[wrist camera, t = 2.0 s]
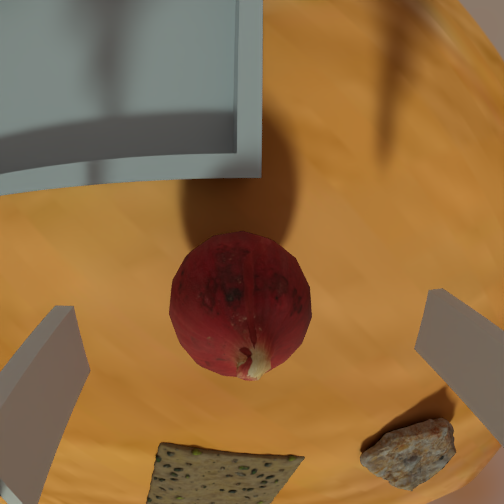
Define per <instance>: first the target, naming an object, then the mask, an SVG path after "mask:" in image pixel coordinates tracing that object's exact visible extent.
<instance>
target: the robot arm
mask: <svg viewBox="0 0 504 504" xmlns="http://www.w3.org/2000/svg"><path fill="white" fill-rule="evenodd" d="M414 349H415V350H416V351H417V352H418V353H419V354H420V355H421V356H422V358H423V359H424V360H425V361H426V362H427V363H428V364H429V365H430V366H431V367H432V368H433V369H434V370H435V371H436V372H437V373H438V374H439V376H440V377H441V378H442V379H443V380H444V381H445V382H446V383H447V384H448V385H449V386H450V387H451V389H452V390H453V391H454V392H455V393H456V394H457V395H458V396H459V397H460V398H461V399H462V401H463V402H464V403H465V404H466V405H467V406H468V407H469V408H470V409H471V411H472V412H473V413H474V414H475V415H476V416H477V417H478V418H479V420H480V421H481V422H482V423H483V424H484V425H485V426H486V428H487V429H488V430H489V431H490V432H491V433H492V434H493V436H494V437H495V438H496V439H497V440H498V441H499V443H500V444H501V445H502V446H503V447H504V331H503V330H502V329H500V328H499V327H497V326H496V325H495V324H493V323H492V322H491V321H489V320H488V319H486V318H485V317H484V316H482V315H481V314H479V313H478V312H476V311H475V310H474V309H472V308H471V307H469V306H468V305H466V304H465V303H463V302H462V301H460V300H459V299H457V298H456V297H455V296H453V295H452V294H450V293H449V292H447V291H446V290H444V289H443V288H442V289H433V290H429V291H428V296H427V301H426V305H425V310H424V314H423V318H422V322H421V326H420V330H419V334H418V337H417V341H416V345H415V348H414ZM89 373H90V368H89V364H88V361H87V357H86V354H85V350H84V347H83V343H82V339H81V335H80V331H79V327H78V323H77V319H76V315H75V310H74V306H55V307H54V308H53V309H52V310H51V311H50V312H49V313H48V314H47V316H46V317H45V318H44V319H43V320H42V321H41V323H40V324H39V325H38V326H37V327H36V328H35V330H34V331H33V332H32V333H31V334H30V336H29V337H28V338H27V339H26V340H25V342H24V343H23V344H22V345H21V347H20V348H19V349H18V350H17V351H16V353H15V354H14V355H13V357H12V358H11V359H10V360H9V362H8V363H7V364H6V365H5V367H4V368H3V369H2V371H1V372H0V496H1V497H2V498H3V499H4V500H5V501H6V502H7V503H8V504H38V502H39V499H40V496H41V492H42V489H43V487H44V484H45V481H46V478H47V475H48V472H49V469H50V467H51V464H52V461H53V458H54V456H55V453H56V450H57V448H58V445H59V443H60V440H61V438H62V435H63V433H64V430H65V428H66V425H67V423H68V420H69V418H70V416H71V413H72V411H73V408H74V406H75V404H76V402H77V399H78V397H79V395H80V392H81V390H82V388H83V386H84V383H85V381H86V379H87V377H88V375H89Z"/></svg>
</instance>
